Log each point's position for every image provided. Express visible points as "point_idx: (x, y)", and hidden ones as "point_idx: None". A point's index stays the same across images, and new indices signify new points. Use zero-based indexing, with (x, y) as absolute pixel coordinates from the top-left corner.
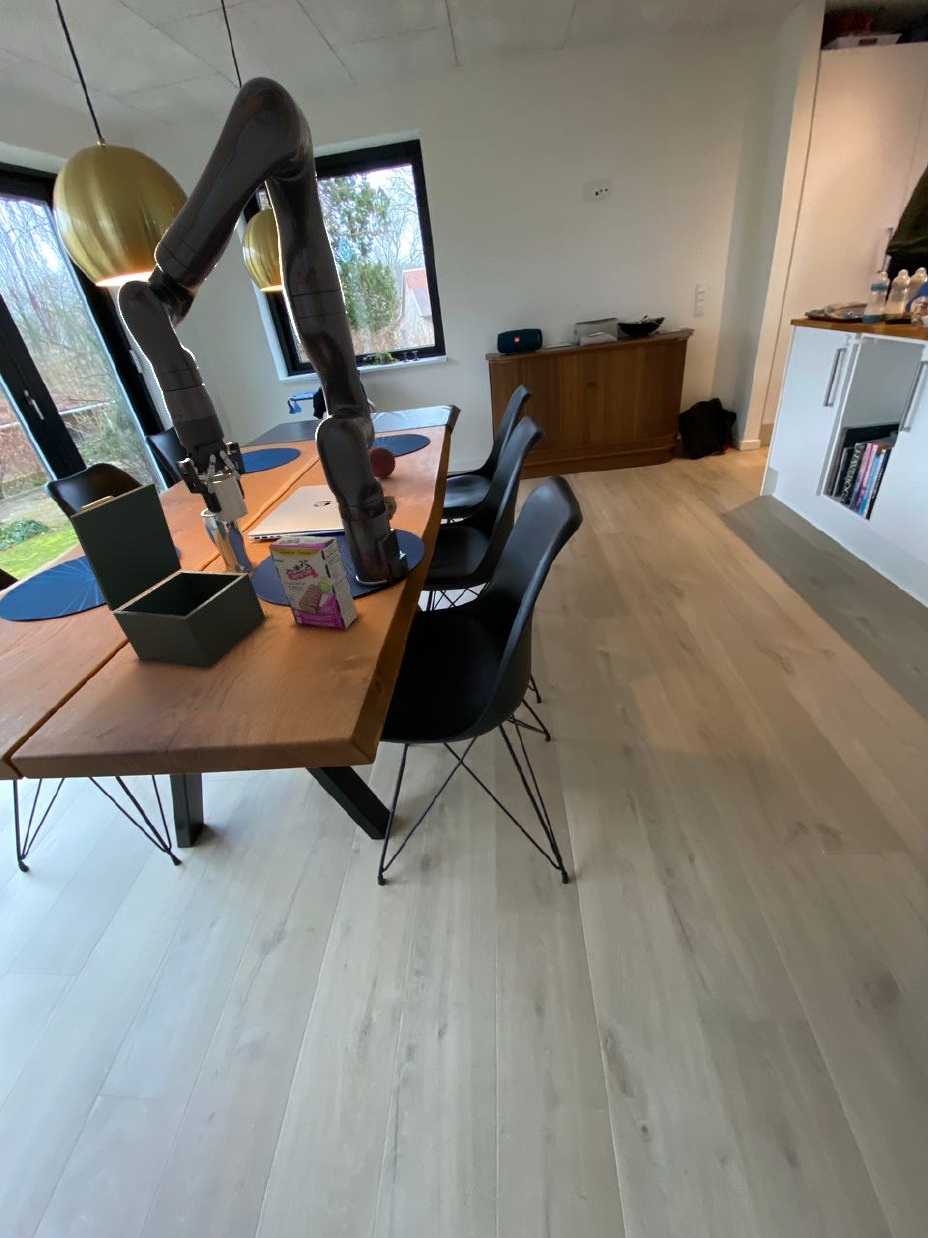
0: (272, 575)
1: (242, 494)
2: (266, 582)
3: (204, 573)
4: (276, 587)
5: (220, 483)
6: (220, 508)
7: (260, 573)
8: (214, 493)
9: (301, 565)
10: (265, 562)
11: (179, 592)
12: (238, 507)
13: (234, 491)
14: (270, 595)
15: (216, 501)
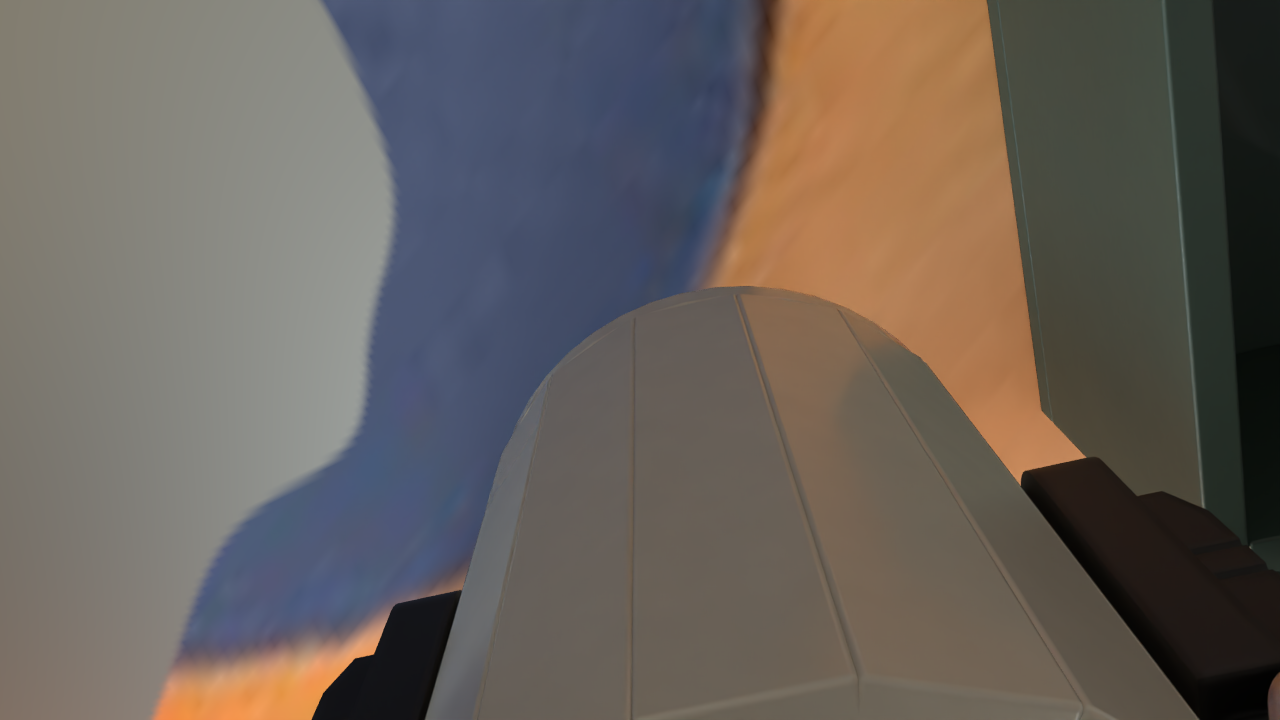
0: (457, 377)
1: (410, 634)
2: (554, 329)
3: (1230, 290)
4: (579, 180)
5: (1122, 704)
6: (1053, 481)
7: (474, 495)
8: (1215, 659)
9: None
10: (339, 603)
11: (1273, 455)
12: (758, 336)
13: (746, 469)
14: (688, 119)
15: (1152, 552)
